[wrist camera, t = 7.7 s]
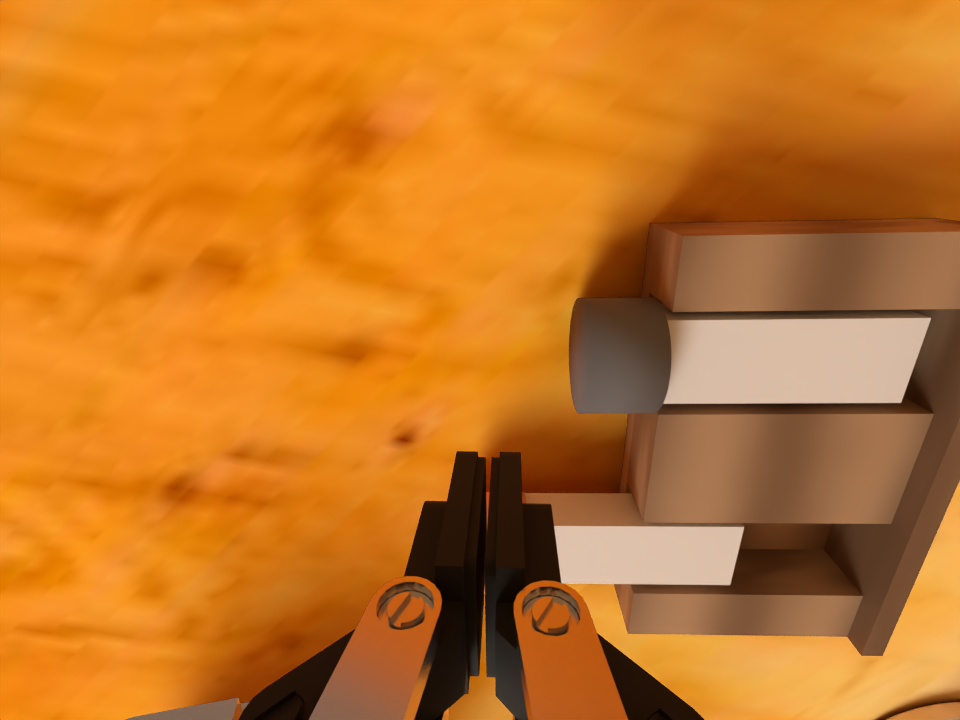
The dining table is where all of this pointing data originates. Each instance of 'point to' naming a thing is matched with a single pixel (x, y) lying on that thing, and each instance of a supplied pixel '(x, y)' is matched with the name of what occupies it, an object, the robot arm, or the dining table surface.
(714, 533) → the rust knob
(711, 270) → the brown wooden tray
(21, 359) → the dining table surface
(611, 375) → the white and grey bar
